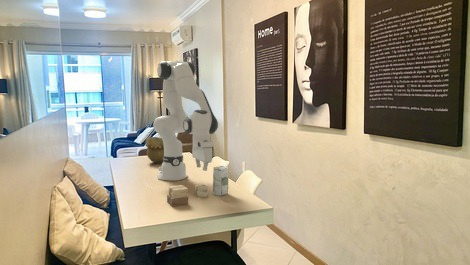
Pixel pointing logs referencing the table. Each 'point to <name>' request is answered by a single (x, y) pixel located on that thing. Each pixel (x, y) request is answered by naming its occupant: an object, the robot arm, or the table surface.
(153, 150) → the clay pot
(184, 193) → the oak slab
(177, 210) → the table surface
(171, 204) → the walnut slab
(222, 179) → the syrup box
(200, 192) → the maple cube
